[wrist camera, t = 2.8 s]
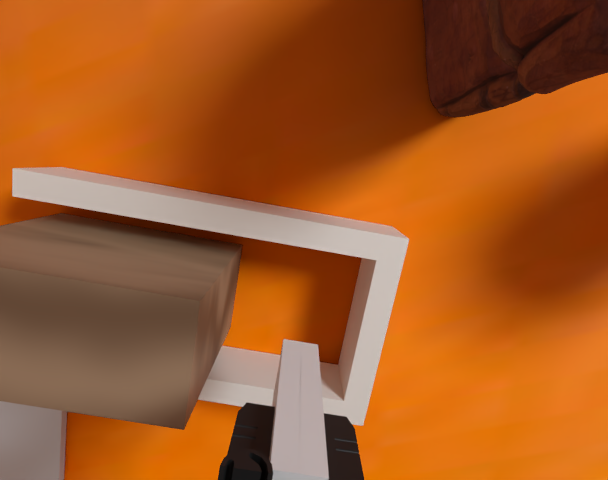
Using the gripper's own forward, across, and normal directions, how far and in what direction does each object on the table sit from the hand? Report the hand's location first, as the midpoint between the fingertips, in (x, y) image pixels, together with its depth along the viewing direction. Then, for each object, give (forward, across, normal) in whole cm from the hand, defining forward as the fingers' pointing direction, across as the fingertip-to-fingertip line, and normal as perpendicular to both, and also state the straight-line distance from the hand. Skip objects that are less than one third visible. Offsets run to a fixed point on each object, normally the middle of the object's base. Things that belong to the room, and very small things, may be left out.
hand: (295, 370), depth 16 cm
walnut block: (+10, +10, 0) cm, 14 cm away
